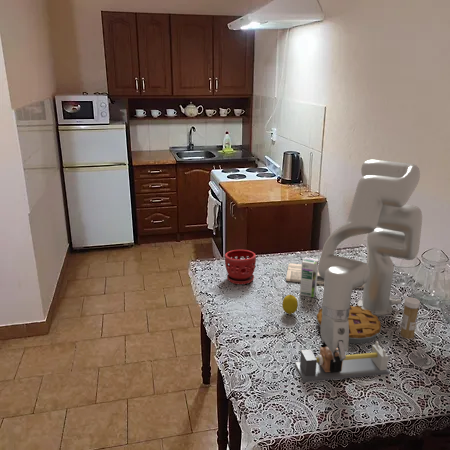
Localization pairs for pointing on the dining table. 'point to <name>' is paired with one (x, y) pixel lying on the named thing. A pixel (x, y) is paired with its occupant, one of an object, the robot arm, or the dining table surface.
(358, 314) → the pie
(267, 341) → the dining table surface
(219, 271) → the dining table surface
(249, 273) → the plant pot
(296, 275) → the newspaper
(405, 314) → the sprinkles bottle
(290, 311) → the lemon
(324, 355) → the sleeve
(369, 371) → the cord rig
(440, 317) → the dining table surface
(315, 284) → the syrup box
